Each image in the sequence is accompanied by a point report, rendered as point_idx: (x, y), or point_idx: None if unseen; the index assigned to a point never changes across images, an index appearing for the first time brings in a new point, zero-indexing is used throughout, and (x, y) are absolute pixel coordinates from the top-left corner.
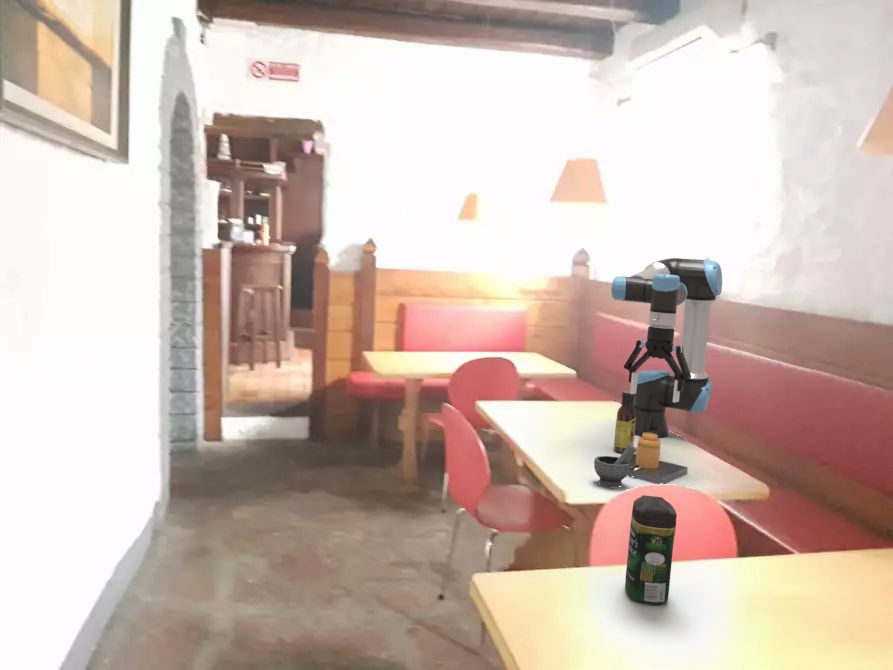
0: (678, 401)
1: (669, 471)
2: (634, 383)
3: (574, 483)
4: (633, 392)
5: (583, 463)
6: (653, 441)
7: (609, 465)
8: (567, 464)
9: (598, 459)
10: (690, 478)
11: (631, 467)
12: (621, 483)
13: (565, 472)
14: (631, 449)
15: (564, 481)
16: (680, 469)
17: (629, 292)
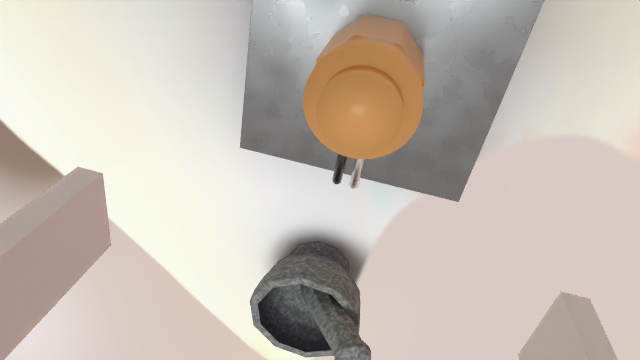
0: (585, 306)
1: (478, 96)
2: (29, 302)
3: (246, 300)
4: (99, 233)
5: (163, 108)
6: (391, 143)
7: (312, 354)
8: (139, 155)
9: (260, 310)
10: (571, 22)
11: (338, 176)
12: (347, 268)
13: (182, 232)
14: None
15: (221, 298)
16: (526, 25)
17: None
